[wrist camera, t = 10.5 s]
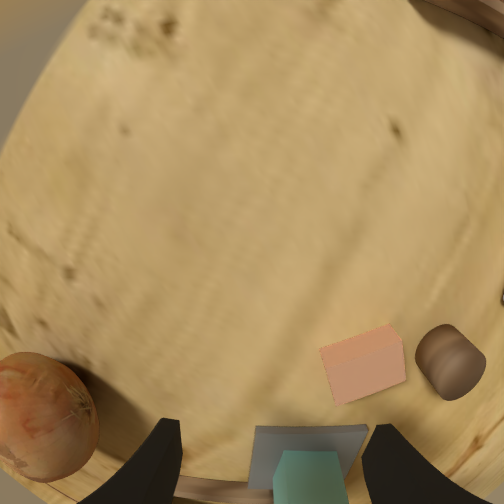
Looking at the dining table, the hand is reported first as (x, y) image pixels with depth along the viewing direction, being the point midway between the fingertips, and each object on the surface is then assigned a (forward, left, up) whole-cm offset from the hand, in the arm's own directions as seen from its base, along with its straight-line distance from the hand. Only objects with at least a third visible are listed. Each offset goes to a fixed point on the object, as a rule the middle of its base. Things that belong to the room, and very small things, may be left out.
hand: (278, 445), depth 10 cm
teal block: (-5, +14, -9) cm, 17 cm away
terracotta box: (-7, +3, -10) cm, 12 cm away
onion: (+16, +8, -10) cm, 21 cm away
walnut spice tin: (-13, +2, -10) cm, 16 cm away
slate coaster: (-5, +14, -10) cm, 18 cm away
